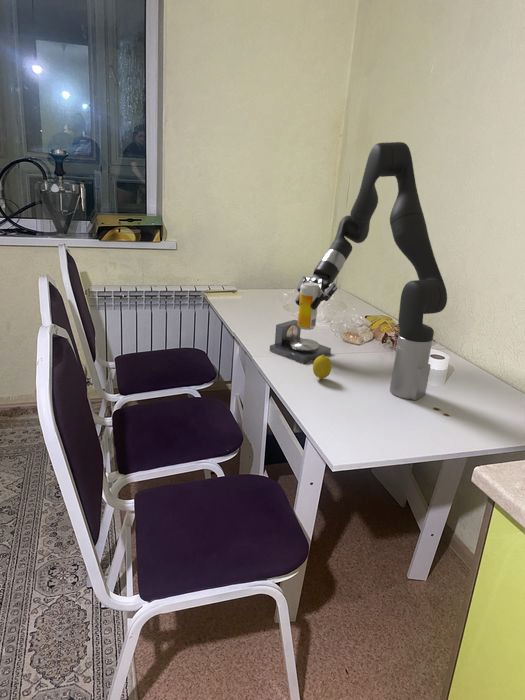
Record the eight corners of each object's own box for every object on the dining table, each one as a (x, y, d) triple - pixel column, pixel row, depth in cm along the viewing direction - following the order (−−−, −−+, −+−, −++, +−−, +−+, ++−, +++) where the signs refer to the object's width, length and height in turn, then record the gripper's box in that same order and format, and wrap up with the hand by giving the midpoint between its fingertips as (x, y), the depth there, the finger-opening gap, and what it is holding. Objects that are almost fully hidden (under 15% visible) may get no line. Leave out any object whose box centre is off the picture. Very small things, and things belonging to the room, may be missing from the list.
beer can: (304, 323, 170) (307, 280, 165) (318, 327, 167) (323, 284, 162) (293, 327, 166) (297, 283, 161) (308, 331, 163) (312, 287, 157)
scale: (330, 353, 171) (333, 328, 168) (303, 363, 161) (305, 337, 158) (297, 341, 181) (299, 318, 177) (269, 350, 170) (271, 326, 167)
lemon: (329, 384, 147) (332, 359, 144) (310, 381, 148) (313, 356, 145) (330, 377, 152) (333, 352, 149) (312, 374, 153) (315, 350, 150)
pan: (324, 346, 169) (324, 344, 169) (306, 353, 162) (306, 350, 162) (302, 339, 175) (302, 336, 175) (283, 345, 168) (283, 342, 168)
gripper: (308, 255, 168) (283, 294, 164) (343, 263, 159) (317, 304, 155) (317, 269, 174) (292, 307, 170) (351, 277, 165) (326, 317, 161)
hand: (304, 305), depth 163 cm, fingers closed on beer can, 6 cm apart
